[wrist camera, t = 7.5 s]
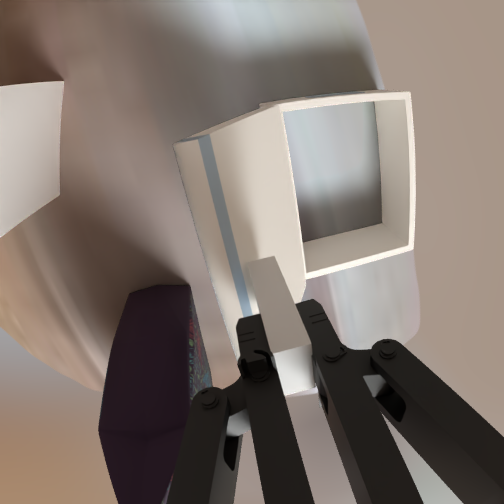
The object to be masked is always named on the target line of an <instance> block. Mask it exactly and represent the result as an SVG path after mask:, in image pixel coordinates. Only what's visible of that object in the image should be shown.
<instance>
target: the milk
mask: <svg viewBox="0 0 504 504" xmlns="http://www.w3.org/2000/svg"><path fill="white" fill-rule="evenodd" d="M63 89H64V81H53V82H38V83H26V84H16V85H8V86H0V238H1V237H2V236H3V235H5V234H6V233H7V232H9V231H10V230H11V229H12V228H14V227H15V226H17V225H18V224H19V223H21V222H22V221H23V220H25V219H26V218H27V217H29V216H30V215H32V214H33V213H34V212H36V211H37V210H39V209H40V208H42V207H43V206H45V205H46V204H47V203H49V202H50V201H52V200H53V199H55V198H56V197H58V196H59V195H60V127H61V111H62V99H63Z"/></svg>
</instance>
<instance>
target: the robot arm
mask: <svg viewBox="0 0 504 504" xmlns="http://www.w3.org/2000/svg"><path fill="white" fill-rule="evenodd" d="M247 263H248V268H249V272H250V276H251V280H252V284H253V289H254V293H255V297H256V301H257V305H258V309H259V313H260V314H255V315H251V316H247V317H243V318H239V319H238V322H237V325H236V333H237V339H238V345H239V351H240V357H239V359H238V364H237V365H238V368H239V371H240V373H241V376H240V377H239V379H238V380H237V381H236V382H235V383H234V384H232V385H230V386H228V387H226V388H224V389H220V388H217V387H207V388H204V389H202V390H200V391H199V392H198V393H197V394H196V395H195V396H194V398H193V400H192V403H191V407H190V411H189V415H188V418H187V422H186V426H185V430H184V434H183V438H182V442H181V446H180V450H179V454H178V458H177V461H176V465H175V469H174V473H173V477H172V482H171V486H170V490H169V494H168V498H167V502H166V504H233V503H234V496H235V489H236V482H237V475H238V467H239V460H240V453H241V445H242V437H243V433H245V432H247V431H248V430H251V432H252V437H253V443H254V448H255V453H256V459H257V464H258V470H259V475H260V480H261V485H262V491H263V496H264V501H265V504H315V503H314V500H313V496H312V493H311V489H310V486H309V482H308V479H307V475H306V472H305V468H304V464H303V461H302V457H301V454H300V450H299V447H298V443H297V439H296V436H295V432H294V428H293V425H292V421H291V418H290V414H289V410H288V407H287V404H286V400H285V396H286V395H289V394H293V393H297V392H301V391H304V390H308V389H311V388H315V387H316V386H317V388H318V393H319V406H320V407H322V408H323V410H324V413H325V416H326V418H327V421H328V424H329V427H330V430H331V432H332V435H333V438H334V441H335V443H336V446H337V449H338V452H339V455H340V457H341V460H342V463H343V466H344V468H345V471H346V474H347V477H348V480H349V482H350V485H351V488H352V491H353V493H354V497H355V499H356V502H357V504H423V501H422V499H421V497H420V494H419V492H418V490H417V488H416V485H415V483H414V481H413V479H412V477H411V474H410V472H409V470H408V468H407V466H406V464H405V462H404V460H403V458H402V455H401V453H400V451H399V449H398V447H397V445H396V442H395V440H394V438H393V436H392V434H391V432H390V430H389V428H388V426H387V424H386V422H385V420H384V418H383V416H382V414H383V415H384V416H385V417H386V418H387V419H388V420H389V422H391V424H392V425H393V426H394V427H395V428H396V429H397V431H398V432H399V433H400V434H401V435H402V436H403V437H404V438H405V439H406V441H407V442H408V443H409V444H410V445H411V446H412V447H413V448H414V449H415V451H416V452H417V453H418V454H419V455H420V456H421V457H422V458H423V459H424V460H425V461H426V463H427V464H428V465H429V466H430V467H431V468H432V469H433V470H434V472H435V473H436V474H437V475H438V476H439V477H440V478H441V479H442V480H443V481H444V483H445V484H446V485H447V486H448V487H449V488H450V489H451V490H452V491H453V493H454V494H455V495H456V496H457V497H458V498H459V499H460V500H461V501H462V502H463V503H464V504H504V437H503V436H502V435H501V434H500V433H499V432H498V431H497V430H495V428H493V427H492V426H491V425H490V424H489V423H488V422H487V421H486V420H485V419H484V418H483V417H482V416H481V415H480V414H478V413H477V412H476V411H475V410H474V409H473V408H472V407H471V406H470V405H469V404H468V403H467V402H465V401H464V400H463V399H462V398H461V397H460V396H459V395H458V394H457V393H456V392H454V391H453V390H452V389H451V388H450V387H449V386H448V385H447V384H446V383H445V382H443V381H442V380H441V379H440V378H439V377H438V376H437V375H436V374H434V373H433V372H432V371H431V370H430V369H429V368H428V367H427V366H426V365H425V364H423V363H422V362H421V361H420V360H419V359H418V358H417V357H416V356H414V355H413V354H412V353H411V352H410V351H408V350H407V349H406V348H405V347H404V346H403V345H402V344H401V343H399V342H398V341H396V340H392V339H383V340H380V341H377V342H376V343H375V344H374V345H373V346H372V349H368V350H354V349H350V348H347V347H346V346H345V345H343V344H342V343H341V342H340V340H339V338H338V336H337V334H336V332H335V330H334V328H333V327H332V325H331V323H330V321H329V320H328V317H327V315H326V313H325V311H324V309H323V307H322V305H321V304H320V303H318V302H317V301H315V300H314V299H311V300H307V301H303V302H300V303H296V304H295V303H294V300H293V298H292V296H291V293H290V291H289V289H288V286H287V284H286V282H285V279H284V277H283V275H282V272H281V270H280V267H279V265H278V263H277V260H276V258H275V256H271V257H267V258H262V259H258V260H254V261H250V262H247ZM315 383H316V386H315ZM380 411H381V412H380ZM381 413H382V414H381Z"/></svg>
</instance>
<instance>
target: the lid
mask: <svg viewBox="0 0 504 504" xmlns="http://www.w3.org/2000/svg"><path fill="white" fill-rule="evenodd" d="M173 148H174V152H175V156H176V160H177V163H178V167H179V171H180V175H181V178H182V182H183V186H184V189H185V193H186V197H187V200H188V204H189V207H190V211H191V214H192V218H193V221H194V225H195V228H196V232H197V235H198V239H199V242H200V246H201V249H202V252H203V256H204V259H205V262H206V266H207V269H208V272H209V275H210V279H211V282H212V285H213V288H214V292H215V295H216V298H217V301H218V304H219V307H220V310H221V314H222V317H223V320H224V323H225V326H226V329H227V332H228V335H229V338H230V341H231V344H232V347H233V350H234V353H235V356H236V359H237V362H238V359H239V357H240V351H239V345H238V339H237V333H236V325H237V322H238V319H239V318H243V317H247V316H251V315H255V314H260V313H259V309H258V305H257V301H256V297H255V293H254V289H253V284H252V280H251V276H250V272H249V268H248V263H247V262H250V261H254V260H258V259H262V258H267V257H271V256H275V258H276V260H277V263H278V265H279V267H280V270H281V272H282V275H283V277H284V279H285V282H286V284H287V286H288V289H289V291H290V293H291V296H292V298H293V300H294V303H295V304H296V303H300V302H301V300H302V297H303V294H304V291H305V288H306V280H305V271H304V263H303V255H302V247H301V240H300V232H299V225H298V218H297V211H296V204H295V197H294V190H293V184H292V177H291V171H290V165H289V159H288V153H287V147H286V141H285V135H284V129H283V123H282V118H281V112H280V107H279V105H273V106H266V107H262V108H259V109H257V110H254V111H251V112H248V113H246V114H243V115H241V116H238V117H235V118H233V119H230V120H228V121H225V122H223V123H220V124H218V125H216V126H213V127H211V128H208V129H206V130H204V131H201V132H199V133H197V134H194V135H192V136H190V137H188V138H185V139H183V140H181V141H179V142H176V143H174V144H173Z"/></svg>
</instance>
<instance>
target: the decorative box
mask: <svg viewBox="0 0 504 504" xmlns="http://www.w3.org/2000/svg"><path fill="white" fill-rule="evenodd" d="M207 387H213V385H212V377H211V371H210V367H209V363H208V359H207V355H206V351H205V347H204V343H203V339H202V335H201V331H200V327H199V322H198V318H197V314H196V309H195V305H194V300H193V296H192V291H191V287H190V286H179V285H156V286H153V287H150V288H147V289H144V290H140V291H137V292H134V293H130V294H129V296H128V299H127V302H126V305H125V308H124V311H123V313H122V316H121V319H120V322H119V325H118V328H117V331H116V334H115V337H114V341H113V345H112V348H111V352H110V357H109V362H108V368H107V373H106V379H105V385H104V391H103V398H102V405H101V412H100V419H99V428H98V431H99V436H100V440H101V445H102V449H103V452H104V456H105V461H106V465H107V468H108V472H109V475H110V479H111V482H112V485H113V489H114V492H115V495H116V498H117V501H118V504H166V502H167V498H168V494H169V490H170V486H171V482H172V477H173V473H174V469H175V465H176V461H177V458H178V454H179V450H180V446H181V442H182V438H183V434H184V430H185V426H186V422H187V418H188V415H189V411H190V407H191V403H192V400H193V398H194V396H195V395H196V394H197V393H198V392H199V391H200V390H202V389H204V388H207Z"/></svg>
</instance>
